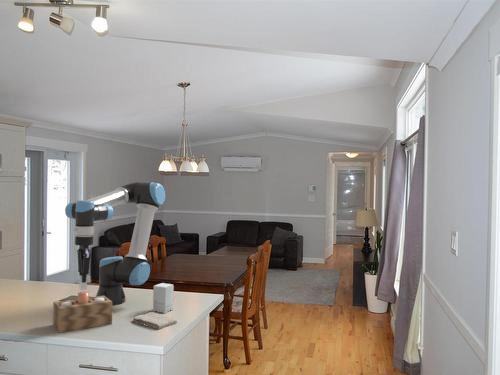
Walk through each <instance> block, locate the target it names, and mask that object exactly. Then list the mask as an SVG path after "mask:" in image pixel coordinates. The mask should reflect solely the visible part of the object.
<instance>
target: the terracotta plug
mask: <svg viewBox="0 0 500 375" xmlns="http://www.w3.org/2000/svg"><path fill="white" fill-rule="evenodd" d="M89 295H90V294H89V291H86V290H83V291H79V292H78V293H77V299H78V304H83V303H88V300H89V297H90V296H89Z"/></svg>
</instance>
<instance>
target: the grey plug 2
mask: <svg viewBox="0 0 500 375" xmlns="http://www.w3.org/2000/svg"><path fill="white" fill-rule="evenodd" d="M98 301H104V298H95V299H94V302H98Z"/></svg>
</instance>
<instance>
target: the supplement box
mask: <svg viewBox="0 0 500 375" xmlns="http://www.w3.org/2000/svg"><path fill="white" fill-rule="evenodd" d="M174 289H175V286H174V284H171V283H165V282H161V283H157V284H155V285H153V290H152V291H153V293H152V294H153V298H152V300H153V303H152V312H155V311H157V312H156V313H161V312H162V313H163V314H167V313H169V312H171V311H173V310H174ZM170 310H171V311H170ZM168 311H169V312H168ZM166 312H167V313H166Z"/></svg>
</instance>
